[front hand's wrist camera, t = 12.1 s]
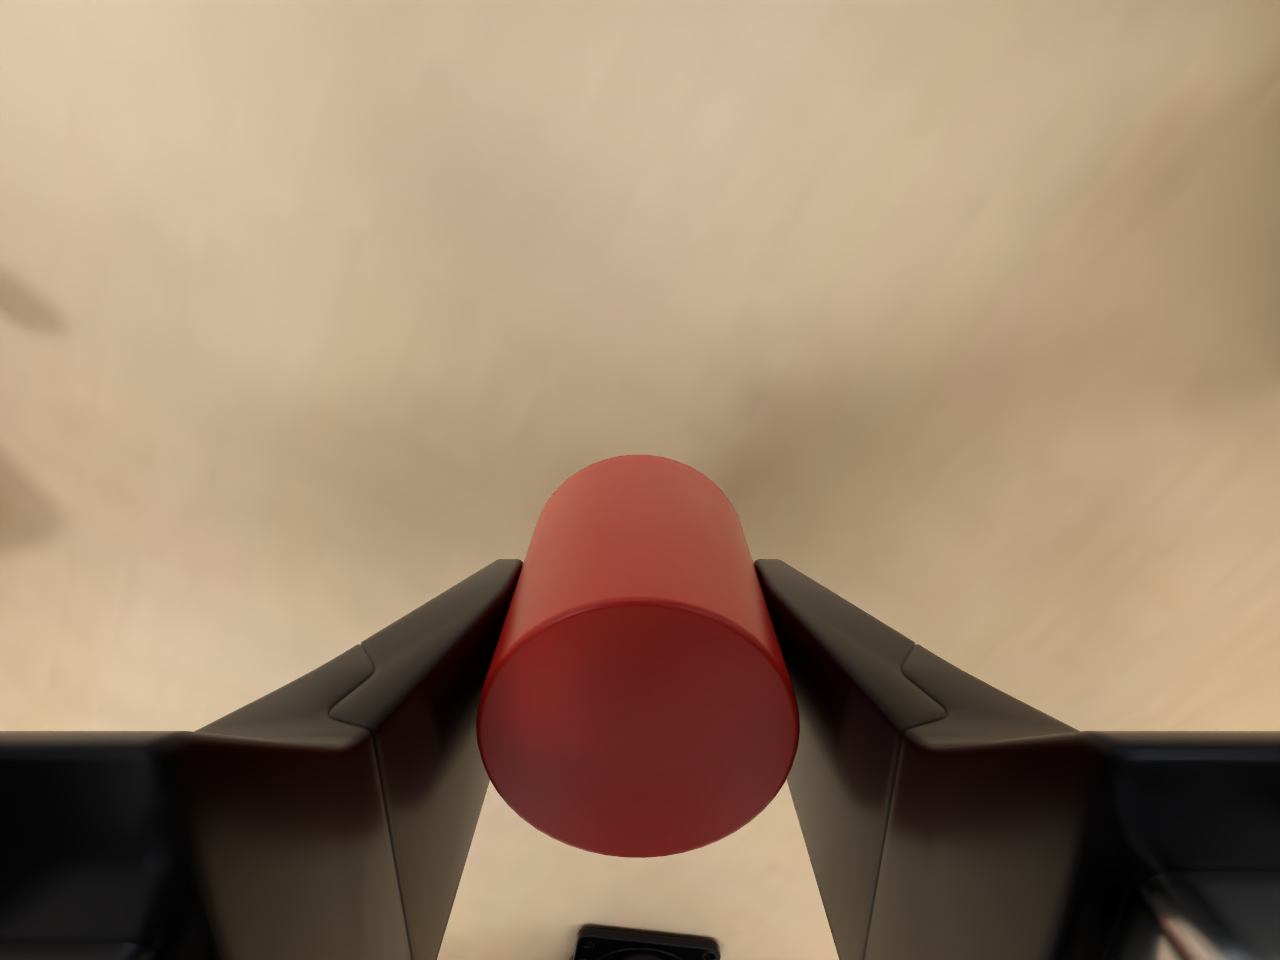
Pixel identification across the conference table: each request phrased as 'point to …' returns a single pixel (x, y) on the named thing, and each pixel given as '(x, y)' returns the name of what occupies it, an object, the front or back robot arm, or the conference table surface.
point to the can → (638, 669)
